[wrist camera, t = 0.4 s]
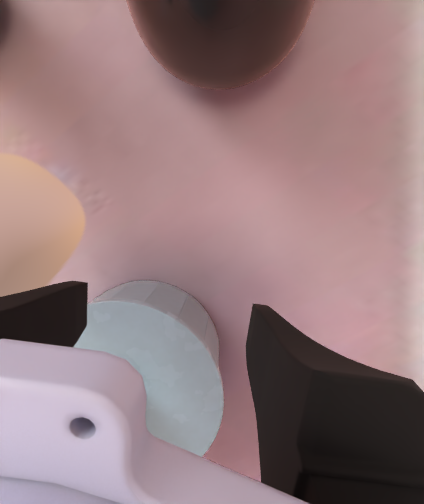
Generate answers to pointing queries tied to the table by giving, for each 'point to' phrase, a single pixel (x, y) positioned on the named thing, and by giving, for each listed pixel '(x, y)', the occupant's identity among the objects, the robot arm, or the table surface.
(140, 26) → the pump dispenser
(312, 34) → the table surface
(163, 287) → the tin
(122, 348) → the lid
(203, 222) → the table surface
